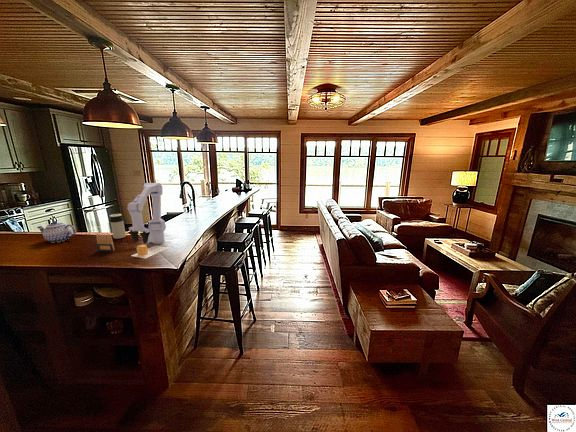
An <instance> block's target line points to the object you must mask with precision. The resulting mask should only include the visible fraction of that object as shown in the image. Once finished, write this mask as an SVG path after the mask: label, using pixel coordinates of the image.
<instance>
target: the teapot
mask: <svg viewBox="0 0 576 432" xmlns="http://www.w3.org/2000/svg"><path fill="white" fill-rule="evenodd" d="M36 228H37V229H38V230H39V231H40V233H41V235H42V236H43V239H44V240H45V241H47V242H51V244H53V243H54V244H55V242H57V243H61V241H62V242H65V240H66V241H68V240H69V239H70V238H71V237H73V236H75V235H76V233H77V230H76V227H75V226H74V225H72V224H66V223H65V222H58V221H57V220H54V221H52V223H50V224H47V225H45V227H43V226H41V225H39V226H37V227H36ZM72 230H73V233H72ZM67 239H68V240H67Z"/></svg>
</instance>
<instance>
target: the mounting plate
mask: <svg viewBox="0 0 576 432" xmlns="http://www.w3.org/2000/svg"><path fill="white" fill-rule="evenodd" d="M147 249H148V253H147V254H145V255H138V253H134V254H131V257H136V258H140V259H148V258H149V257H151V256H154V255H157V254H159V253H161V252H163V251H165V250H167V249H168V247H167V246H160V245H153V246H151V247H147Z"/></svg>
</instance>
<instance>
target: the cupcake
mask: <svg viewBox="0 0 576 432" xmlns="http://www.w3.org/2000/svg"><path fill="white" fill-rule="evenodd" d="M136 252H137V253H138V255H145V254H147V253H148V245H147V244H139V245H137V246H136Z"/></svg>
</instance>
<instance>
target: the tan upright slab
mask: <svg viewBox="0 0 576 432" xmlns="http://www.w3.org/2000/svg"><path fill="white" fill-rule="evenodd" d="M112 237H113V236H112V235H111V234H108V233H107V234H105V233H104V234H103V233H99V234H98V233H96V247H97V251H98V252H111V253H112V252H115V251H116V247H115V243H114V242H113V238H112Z"/></svg>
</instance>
